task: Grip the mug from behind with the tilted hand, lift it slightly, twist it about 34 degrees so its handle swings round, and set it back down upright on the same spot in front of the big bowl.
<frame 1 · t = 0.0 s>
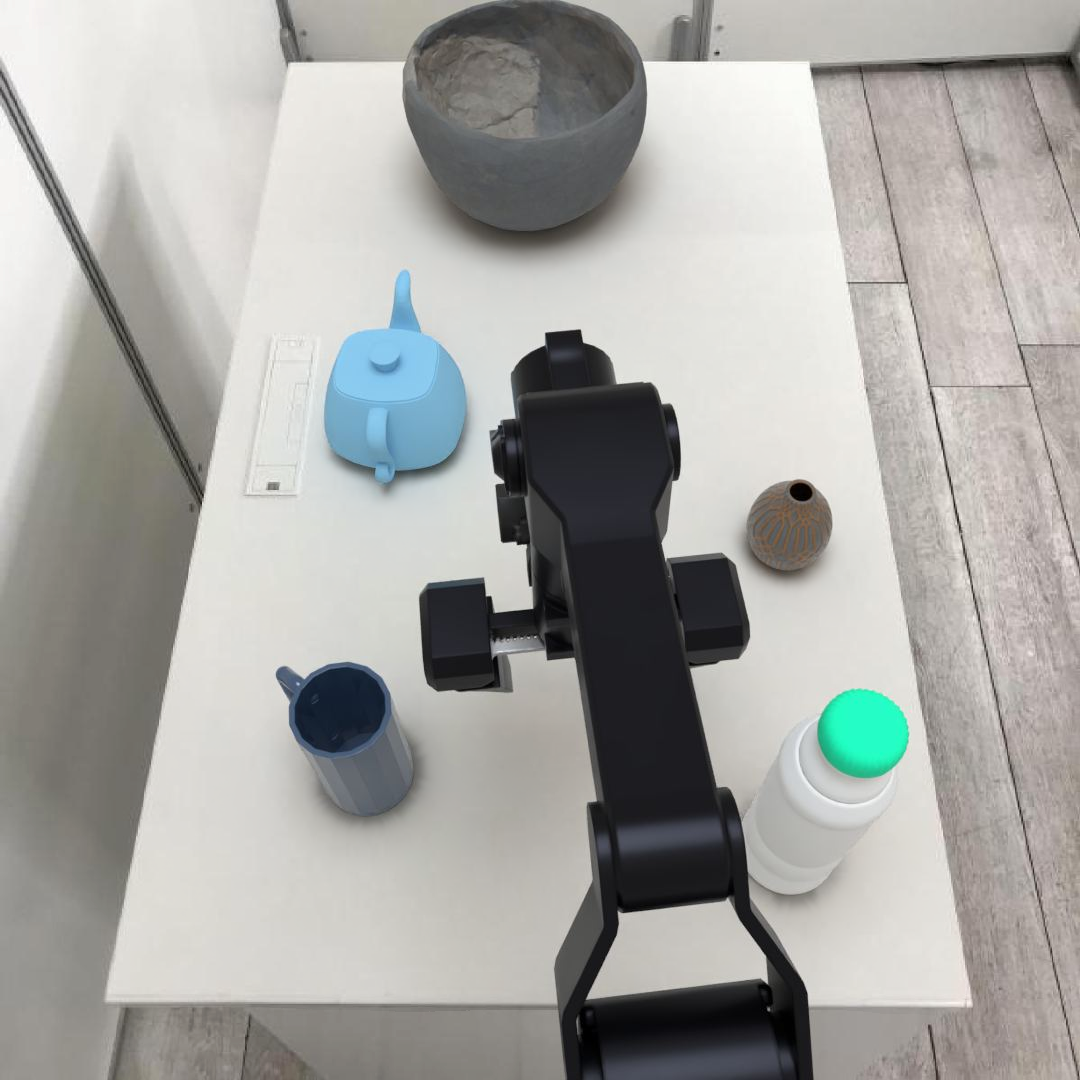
hand: (579, 677, 69), 15 cm above the table, tool pointing down, fingers open, 9 cm apart
teapot: (402, 419, 100), on the table
mug: (369, 772, 82), on the table
vase: (781, 548, 92), on the table
water bottle: (783, 848, 79), on the table
bowl: (527, 187, 116), on the table
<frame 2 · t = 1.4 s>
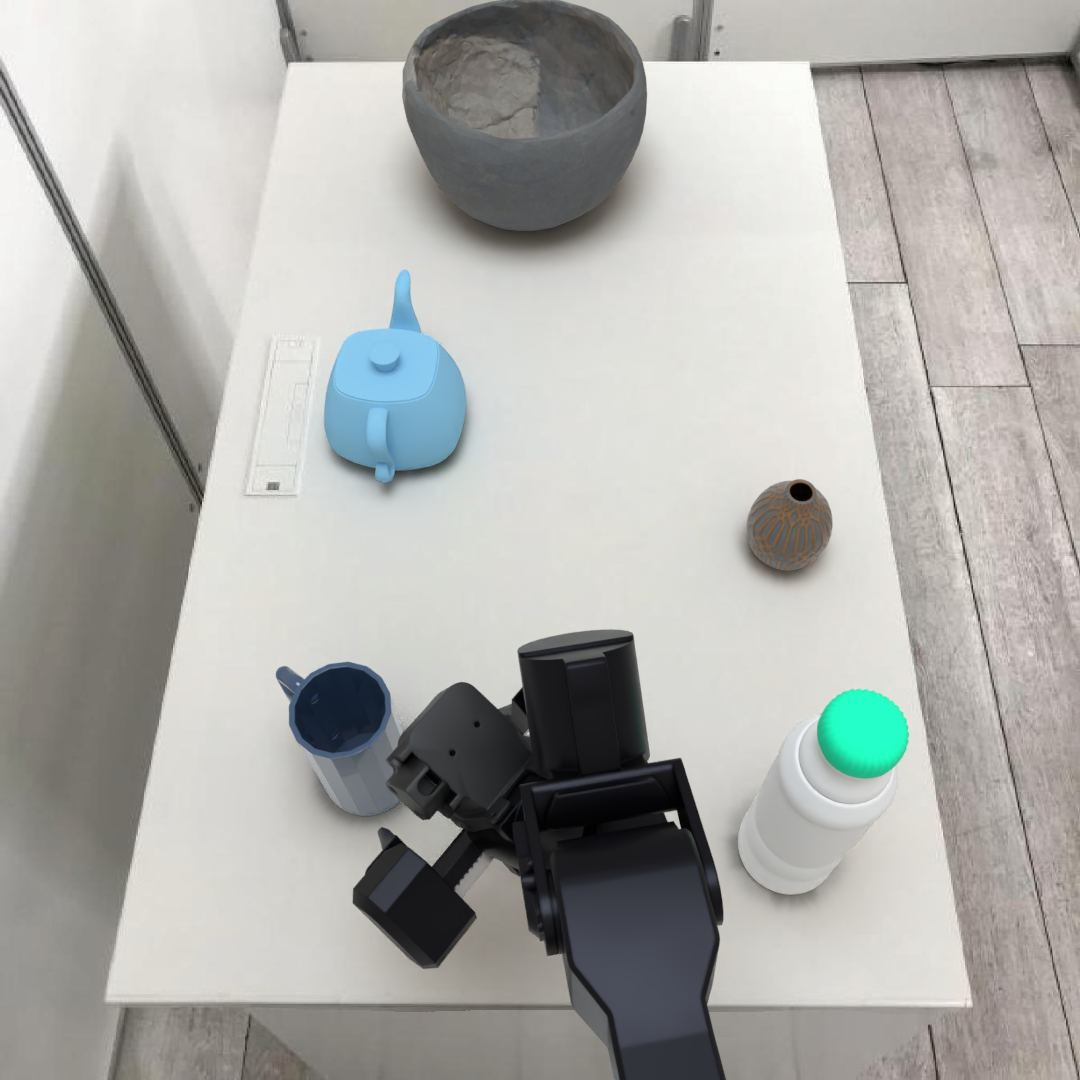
hand: (432, 777, 68), 13 cm above the table, tool tilted 45°, fingers open, 9 cm apart
nothing on the table moved.
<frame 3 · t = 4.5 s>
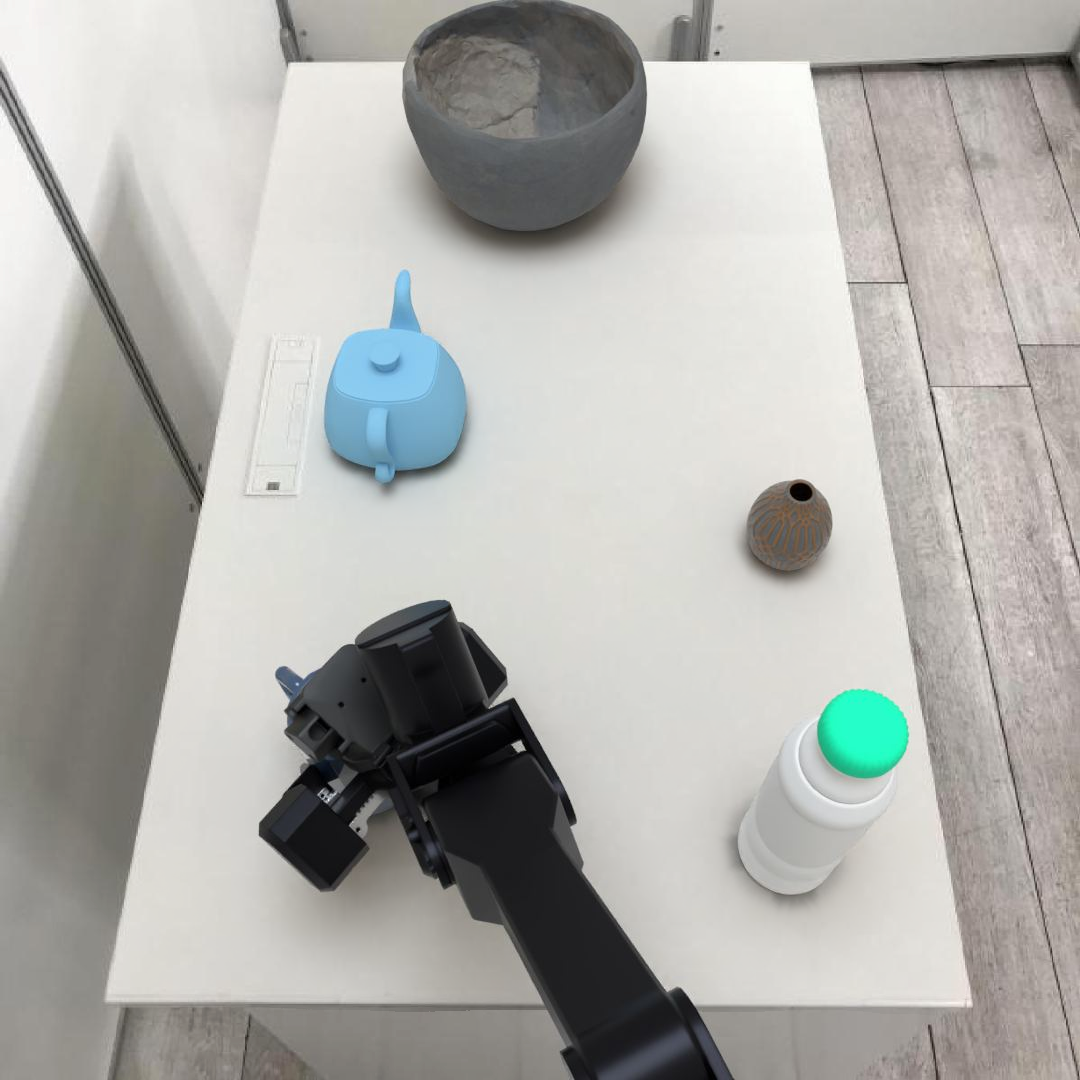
hand: (340, 730, 77), 7 cm above the table, tool tilted 45°, fingers closed on mug, 7 cm apart
mug: (370, 771, 82), on the table, touching gripper
everything else where it was.
when the fingers open (7 cm above the table, at t = 9.1 s): mug stays where it is, on the table.
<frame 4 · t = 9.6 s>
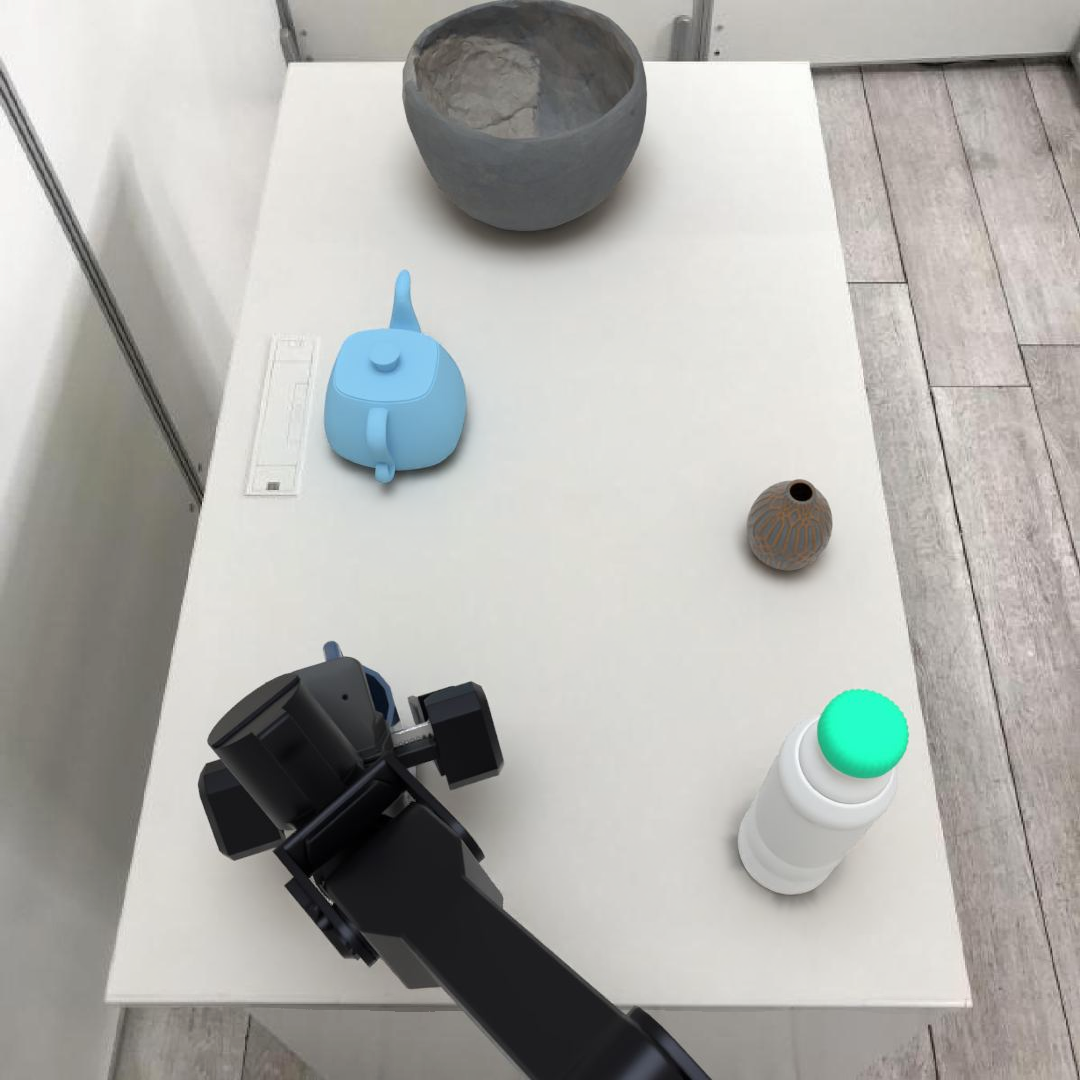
hand: (349, 721, 77), 7 cm above the table, tool tilted 45°, fingers open, 9 cm apart
mug: (372, 774, 82), on the table
everything else where it was.
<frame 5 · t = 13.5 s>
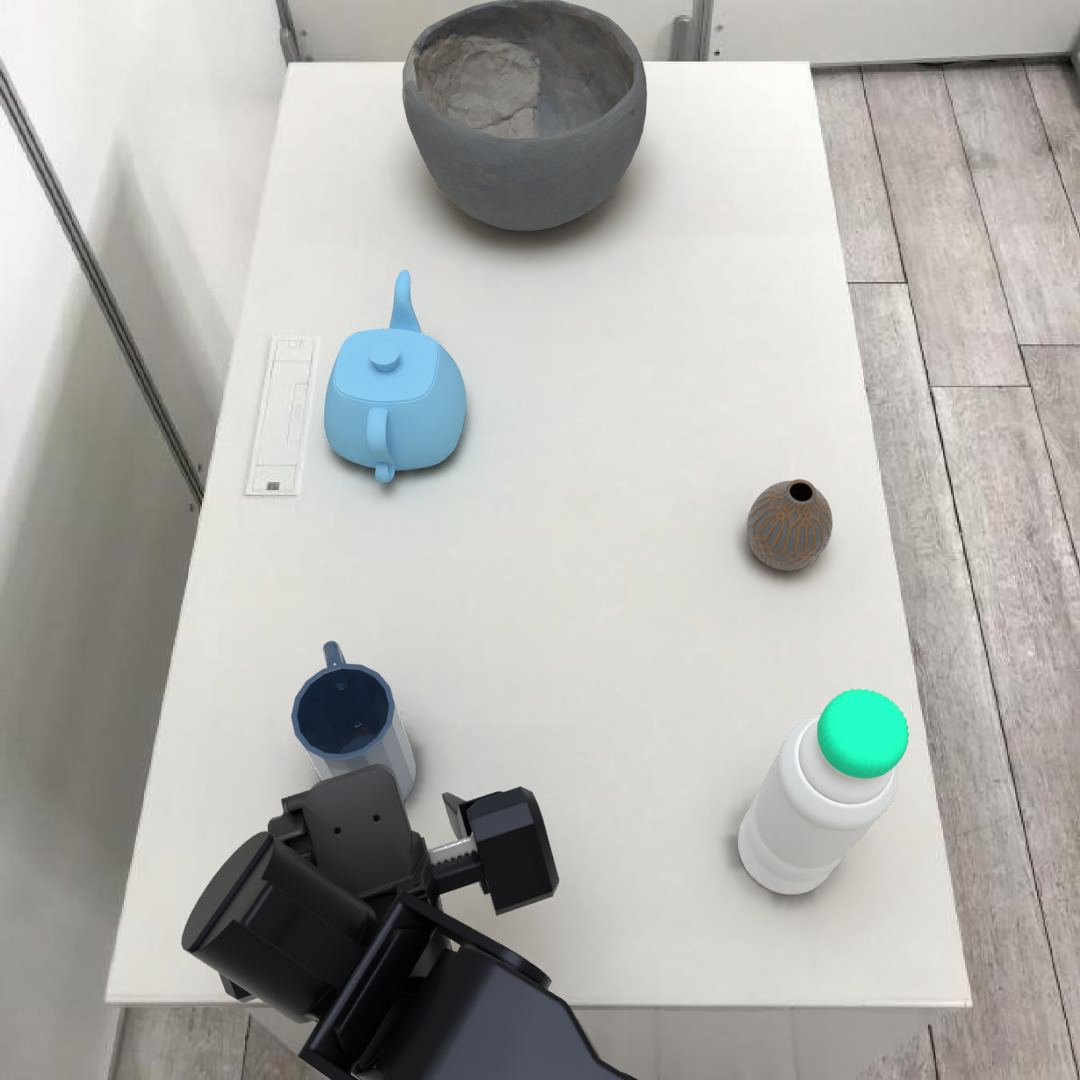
hand: (375, 822, 66), 14 cm above the table, tool tilted 45°, fingers open, 9 cm apart
nothing on the table moved.
at the end: mug tilted 0°; the gripper is holding nothing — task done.
